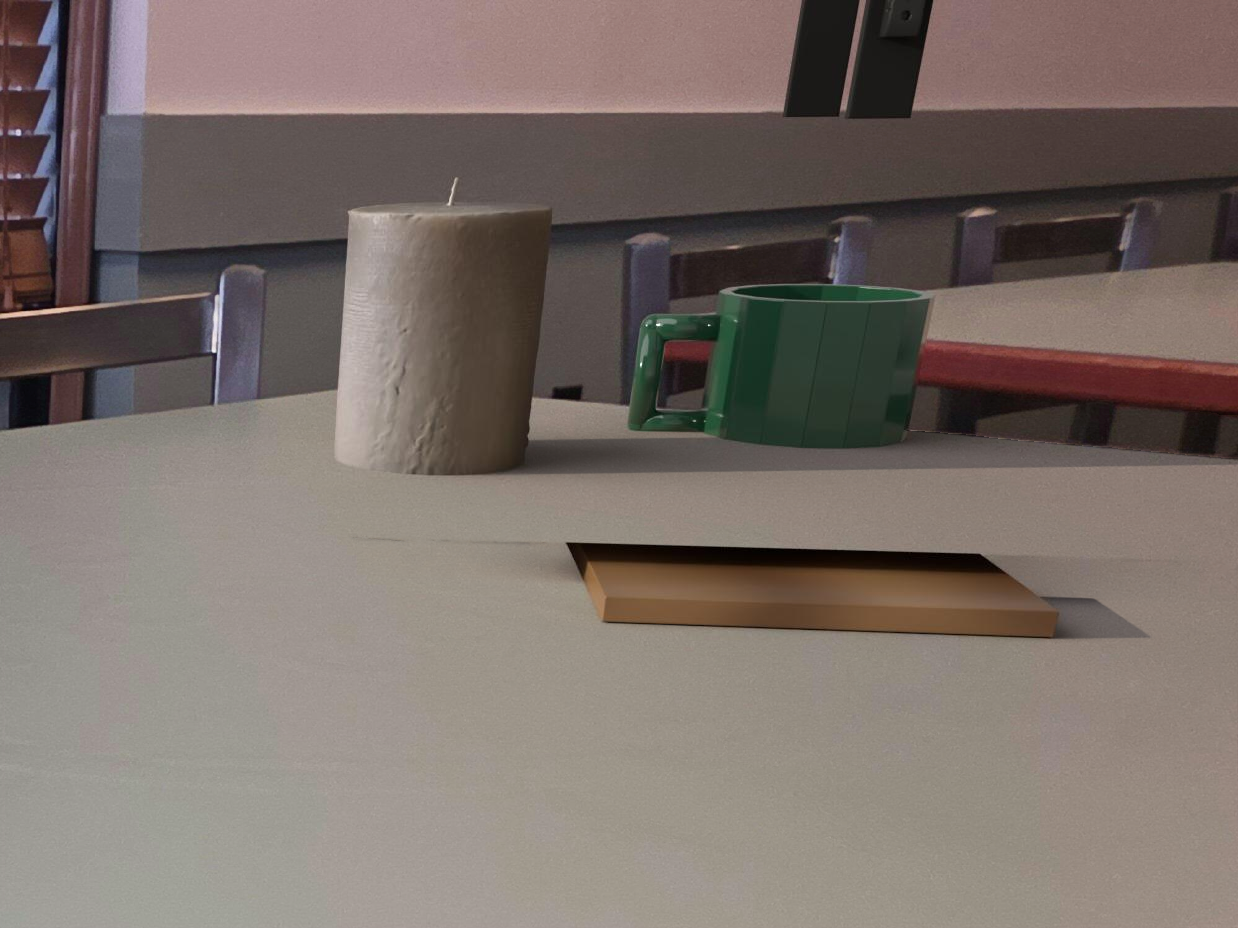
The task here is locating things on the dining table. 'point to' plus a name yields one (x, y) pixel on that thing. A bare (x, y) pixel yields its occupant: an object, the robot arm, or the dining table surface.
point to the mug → (794, 365)
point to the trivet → (809, 589)
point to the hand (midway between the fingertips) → (841, 118)
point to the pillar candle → (440, 335)
